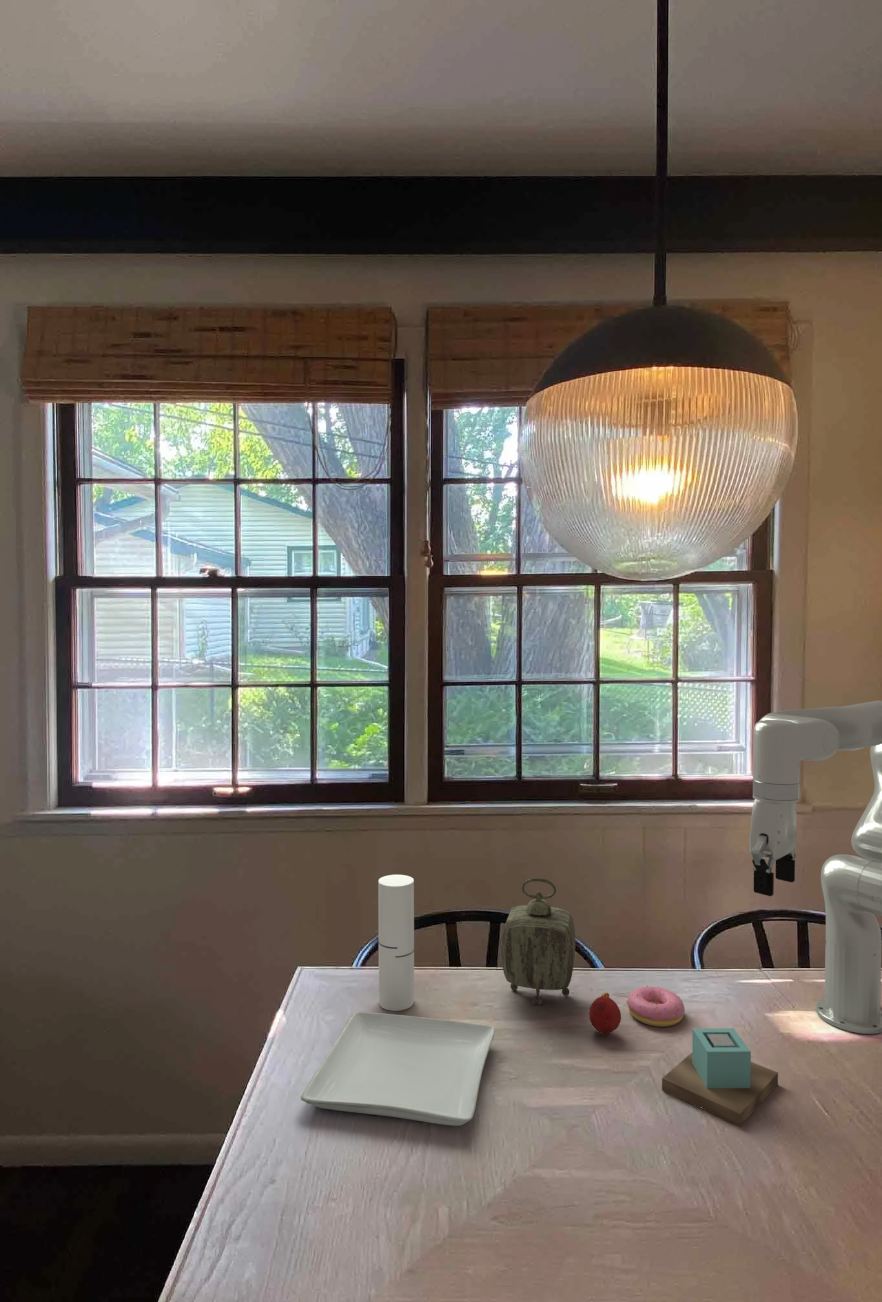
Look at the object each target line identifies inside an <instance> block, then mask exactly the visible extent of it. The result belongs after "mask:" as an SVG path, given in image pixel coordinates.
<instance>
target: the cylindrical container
mask: <svg viewBox="0 0 882 1302" xmlns="http://www.w3.org/2000/svg"><path fill="white" fill-rule="evenodd" d="M414 880H415V879H414V878H413V877H412V876H409V875H406V874H405V875H404V874H389V875H385V876H382V877H380V878H379V879H378V883H377V884H378V1005H379V1006H380V1007H381V1008H382V1009H384V1010H387V1011H393V1012H396V1011H397V1012H398V1011H399V1012H400V1011H404V1010H407V1009H409V1008H411V1007H412V1006H413V1005H414V1002H415V918H414V917H415V906H414V905H415V904H414V902H415V900H414V899H415V898H414V897H415V892H414V891H415V890H414V889H415V882H414Z"/></svg>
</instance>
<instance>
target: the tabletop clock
mask: <svg viewBox="0 0 882 1302" xmlns="http://www.w3.org/2000/svg"><path fill="white" fill-rule="evenodd" d="M533 882H542V883H546V884H547V885H550V886H551V887H552V888H553V892H551V893H550V894H547V895H546V894H545V895H542V892H541V891H540V890H539V891H536V894H532V893H529V892H528V891H526V890H525V886H526V885H527V884H529V883H533ZM521 891H522V892H523V893H524V894H525V895H526V897H528V898H531V900H530V901H529V902H528V904H524V905H516V906H514V907H511V909H510V912H509V914H508V915H507V916H508V917H507V918H506V920H505V921H506V922H505V924H504V927H503V931H502V938H501V939H502V940H501V948H500V949H501V951H500V952H501V962H502V970H503V975H504V978H505V980H506V982H508V983H510V987H509V988H510V989H511V990H512V991H517V990H518V988H519V987H520V988H521V987H522V988H527V989H534V990H535V996H534V997H533V1003H534V1004H535V1005H537V1006H538V1005H541V1003H542V997H540V992H541V991H540V990H542V991H543V990H544V991H559V990H560V991H561V994H562V995H563V996H564V997H568V996H569V995H570V989H569V986H570V983H571V981H572V977H573V972H574V971H573V970H574V964H575V962H574V961H575V955H576V954H575V953H576V944H577V943H576V942H577V941H576V929H575V923H574V918H573V916H572V914H571V912H569V911H567V910H566V909H563V908H559V907H554V906H551V905H550V904H549V903H548V901H546V900H548V899H550V898H552V897H554V896H555V895H556V893H557V887H556V886H555V884H554V883H553V882H552V881H551V880H548V879H546V878H542V877H531V878H529V879H526V880H525V881H524V882H523V883H522V885H521Z"/></svg>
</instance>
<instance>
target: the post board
mask: <svg viewBox="0 0 882 1302" xmlns="http://www.w3.org/2000/svg"><path fill="white" fill-rule="evenodd" d="M707 1041H708V1042H709V1044H710V1045H711V1047H712V1048H714V1047H735V1045H734V1043H733V1042H732V1040H731V1039H730V1038H729V1036H728V1035H727V1034H707ZM778 1085H779V1072H777V1071H775V1070H772V1069H770V1068H767V1067H765V1066H763V1065H760V1064H758V1063H755V1062H753V1061H751V1073H750V1088H707V1087H706V1086H705V1084H704V1082H703V1081H702V1079H701V1077H700V1076H699V1074H698V1072H697V1070H696V1069H695V1067H694V1065H693V1064H692V1052H690V1053H689V1054H688V1055H687V1056H686V1057H685V1058H684V1059H683V1060H681V1061H680V1062H679V1063H678V1064H676V1065H675V1067H673V1068H672V1069H671V1070H670V1071H668V1073H666V1074H665V1075H664V1076H663V1077H662V1078H661V1091H662V1092H665V1093H667V1094H669V1095H672V1096H673V1097H675V1096H676V1097H675V1098H678V1099H680V1100H682V1101H684V1100H685V1102H686V1101H687V1102H686V1103H688V1102H690V1103H692V1104H691V1105H693V1104H694V1105H693V1106H695V1105H696V1106H695V1107H697V1106H698V1107H697V1108H699V1107H702V1108H703V1109H705V1110H706V1112H707V1111H708V1112H707V1113H710V1114H712V1115H715V1116H717V1117H718V1118H721V1119H723V1120H725V1121H727V1122H729V1123H731V1124H733V1125H736V1126H738V1127H741V1126H742V1125H743V1124H744V1123H745V1122H746V1121H747V1119H749V1117H750V1116H751V1115H752V1114H753V1113H754V1112H755V1111H756V1110H757V1108H758V1107H760V1105H761V1104H762V1102H764V1101H765V1100H766V1099H767V1097H768V1096H769V1095H770V1094H772V1092H773V1090H775V1089H776V1087H778ZM690 1103H689V1104H690ZM703 1109H702V1110H703ZM705 1110H704V1111H705Z"/></svg>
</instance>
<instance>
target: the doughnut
mask: <svg viewBox="0 0 882 1302" xmlns="http://www.w3.org/2000/svg"><path fill="white" fill-rule="evenodd" d="M628 994H629V993H628ZM626 1004H627V1008H628V1009H627V1010H628V1012H630V1014H631V1015H632V1017H634V1019H635V1020H637V1021H638V1022H641V1023H643V1024H644V1025H645V1024H646V1025H648V1026H653V1027H665V1028H666V1027H671V1026H674V1025H676V1024H678V1023H679V1022H681V1021H682V1019H683V1018H684V1015H685V1012H686V1011H685V1010H686V1009H685V1005H684V1002H683V1000H682V998H681V997H680V996H679V995H677V994H676V993H675V992H673V991H671V990H670V989H669V990H668V989H667V988H663V987H660V986H648V985H647V986H641V987H638V988H636V989H633V991H631V992H630V994H629V995H628V996H627V1001H626Z"/></svg>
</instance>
